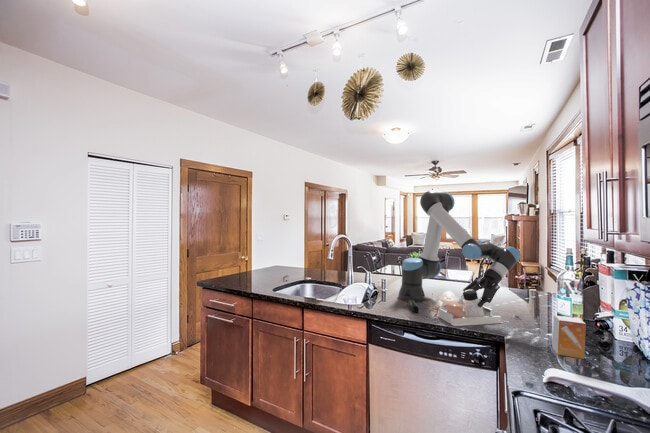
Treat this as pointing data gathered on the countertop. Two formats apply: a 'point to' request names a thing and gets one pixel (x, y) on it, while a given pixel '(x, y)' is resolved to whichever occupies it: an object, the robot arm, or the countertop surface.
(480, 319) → the white tray
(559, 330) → the small box
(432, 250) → the robot arm
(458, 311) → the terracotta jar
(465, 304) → the medicine bottle
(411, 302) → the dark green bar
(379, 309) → the countertop surface
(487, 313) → the pusher
